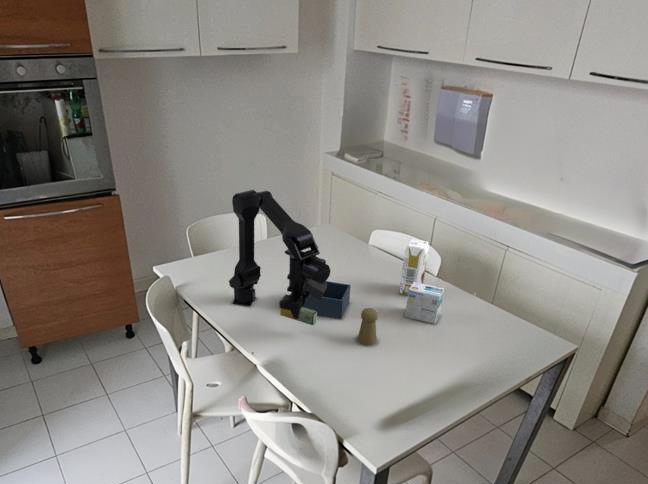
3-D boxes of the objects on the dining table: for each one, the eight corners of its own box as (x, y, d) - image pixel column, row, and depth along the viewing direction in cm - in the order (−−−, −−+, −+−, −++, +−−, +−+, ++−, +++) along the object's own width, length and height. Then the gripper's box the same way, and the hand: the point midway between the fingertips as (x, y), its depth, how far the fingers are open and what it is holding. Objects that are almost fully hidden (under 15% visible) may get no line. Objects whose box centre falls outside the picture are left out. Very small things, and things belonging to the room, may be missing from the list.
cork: (364, 347, 162) (367, 317, 156) (353, 338, 166) (356, 308, 160) (380, 343, 164) (383, 312, 158) (369, 333, 169) (372, 303, 163)
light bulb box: (439, 315, 180) (445, 287, 174) (435, 324, 175) (440, 296, 169) (409, 308, 183) (413, 280, 177) (404, 317, 178) (408, 288, 172)
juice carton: (397, 294, 192) (404, 245, 182) (403, 284, 199) (409, 237, 188) (418, 298, 190) (426, 249, 179) (422, 288, 196) (430, 240, 186)
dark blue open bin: (293, 311, 180) (294, 292, 176) (304, 295, 190) (304, 277, 186) (341, 319, 176) (342, 301, 172) (349, 302, 186) (350, 284, 182)
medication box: (317, 322, 164) (317, 311, 162) (313, 326, 162) (314, 314, 160) (283, 311, 168) (284, 300, 166) (279, 315, 166) (279, 304, 164)
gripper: (316, 289, 147) (314, 336, 155) (332, 262, 162) (330, 306, 170) (278, 283, 149) (278, 329, 158) (298, 257, 164) (297, 300, 173)
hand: (297, 316), depth 165 cm, fingers closed on medication box, 3 cm apart
